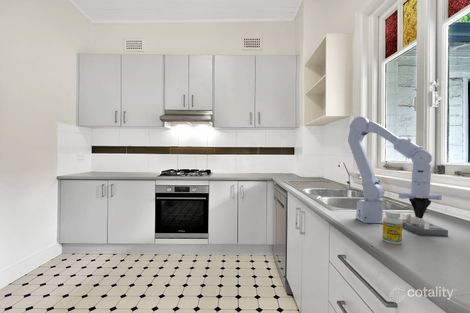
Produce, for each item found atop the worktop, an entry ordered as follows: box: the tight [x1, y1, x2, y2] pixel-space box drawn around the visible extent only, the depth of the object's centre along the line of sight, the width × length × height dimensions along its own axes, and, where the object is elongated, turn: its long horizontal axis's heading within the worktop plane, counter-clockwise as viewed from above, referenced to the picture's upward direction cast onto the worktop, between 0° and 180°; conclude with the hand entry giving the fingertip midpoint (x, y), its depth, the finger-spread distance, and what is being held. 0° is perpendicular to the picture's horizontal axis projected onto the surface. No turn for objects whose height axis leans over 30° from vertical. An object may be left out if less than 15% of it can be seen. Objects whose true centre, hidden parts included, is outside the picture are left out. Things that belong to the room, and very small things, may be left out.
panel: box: [401, 212, 449, 237], centre depth 96 cm, size 10×13×5 cm
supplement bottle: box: [382, 210, 403, 245], centre depth 82 cm, size 5×5×10 cm
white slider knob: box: [410, 215, 420, 224], centre depth 96 cm, size 2×2×2 cm, turn 177°
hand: (418, 218), depth 96 cm, fingers closed
